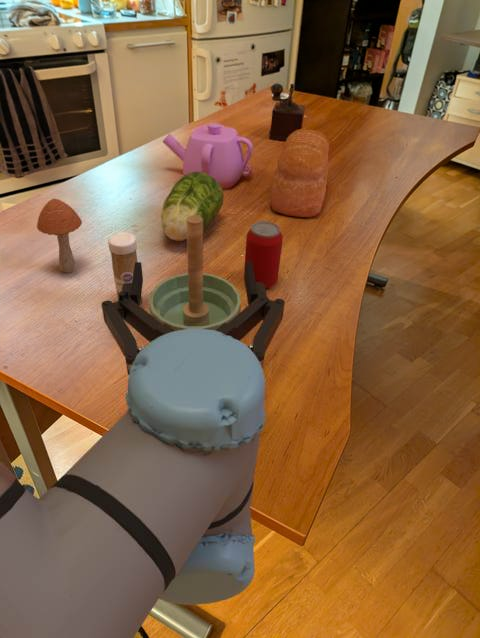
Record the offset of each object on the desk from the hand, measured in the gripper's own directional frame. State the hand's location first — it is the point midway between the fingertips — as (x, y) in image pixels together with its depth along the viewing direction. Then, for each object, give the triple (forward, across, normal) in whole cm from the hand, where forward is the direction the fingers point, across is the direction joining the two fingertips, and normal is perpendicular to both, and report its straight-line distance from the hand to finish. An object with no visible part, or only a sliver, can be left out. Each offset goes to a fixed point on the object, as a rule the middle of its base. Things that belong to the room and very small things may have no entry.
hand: (194, 271), depth 58 cm
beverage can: (+26, +13, -21) cm, 36 cm away
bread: (+65, +28, -21) cm, 74 cm away
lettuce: (+46, -1, -21) cm, 51 cm away
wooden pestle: (+13, 0, -20) cm, 24 cm away
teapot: (+77, +4, -21) cm, 80 cm away
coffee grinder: (+109, +32, -21) cm, 115 cm away
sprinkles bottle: (+20, -12, -21) cm, 31 cm away
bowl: (+13, 0, -21) cm, 24 cm away
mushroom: (+31, -25, -21) cm, 45 cm away
